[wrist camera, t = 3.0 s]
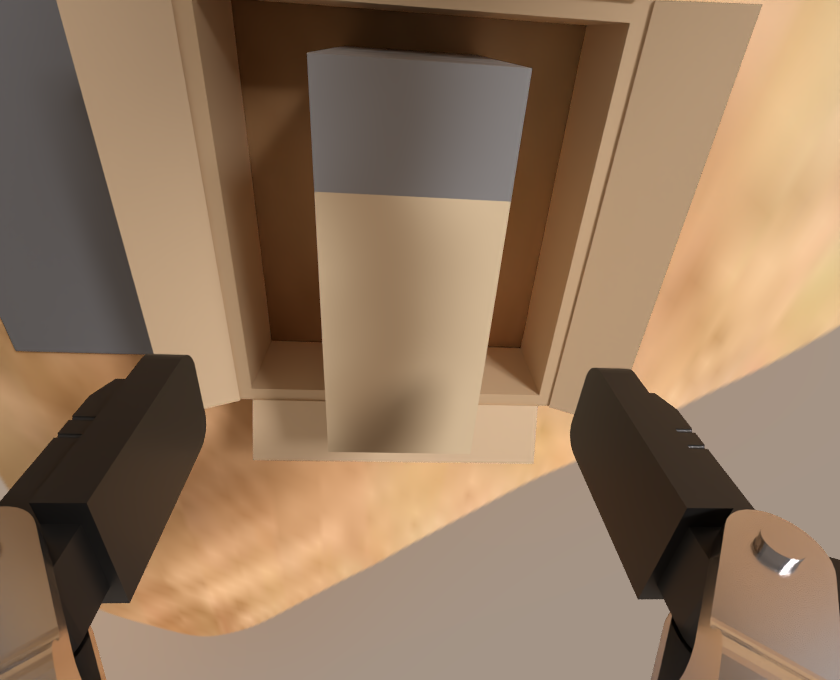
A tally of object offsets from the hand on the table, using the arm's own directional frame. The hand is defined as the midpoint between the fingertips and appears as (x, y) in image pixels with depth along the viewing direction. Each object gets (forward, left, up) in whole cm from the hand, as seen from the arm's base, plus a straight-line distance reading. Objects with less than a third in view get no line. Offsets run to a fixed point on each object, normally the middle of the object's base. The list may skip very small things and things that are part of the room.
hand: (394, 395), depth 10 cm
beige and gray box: (0, 0, -13) cm, 13 cm away
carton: (0, 0, -13) cm, 13 cm away
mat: (+15, 0, -13) cm, 20 cm away
